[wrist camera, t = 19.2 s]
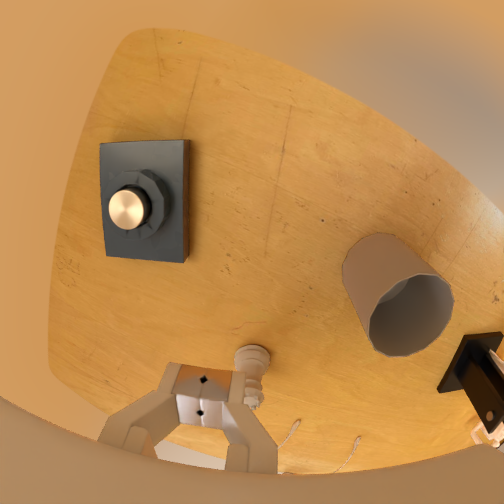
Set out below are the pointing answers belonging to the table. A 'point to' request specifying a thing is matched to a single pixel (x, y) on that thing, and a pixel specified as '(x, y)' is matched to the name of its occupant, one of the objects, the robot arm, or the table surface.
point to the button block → (158, 191)
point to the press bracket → (478, 377)
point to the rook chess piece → (252, 372)
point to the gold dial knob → (129, 208)
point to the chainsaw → (499, 432)
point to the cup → (396, 295)
